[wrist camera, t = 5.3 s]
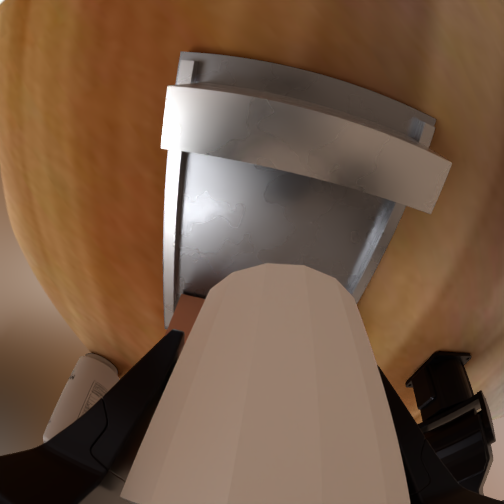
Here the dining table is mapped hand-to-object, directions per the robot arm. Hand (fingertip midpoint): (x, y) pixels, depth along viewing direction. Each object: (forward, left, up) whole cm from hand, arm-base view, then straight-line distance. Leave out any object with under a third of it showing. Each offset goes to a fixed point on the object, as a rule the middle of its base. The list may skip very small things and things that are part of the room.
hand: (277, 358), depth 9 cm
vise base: (0, +2, -11) cm, 11 cm away
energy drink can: (+17, +26, -11) cm, 33 cm away
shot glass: (0, 0, -2) cm, 2 cm away
